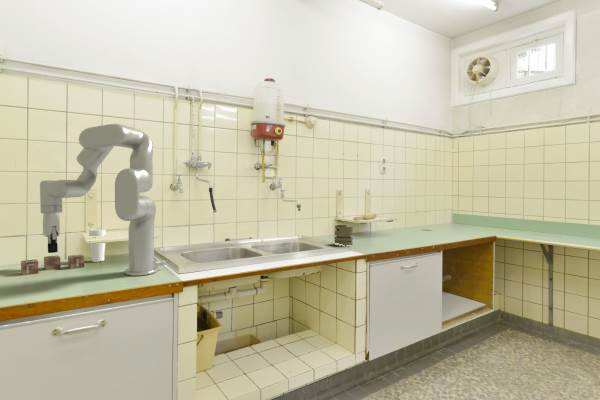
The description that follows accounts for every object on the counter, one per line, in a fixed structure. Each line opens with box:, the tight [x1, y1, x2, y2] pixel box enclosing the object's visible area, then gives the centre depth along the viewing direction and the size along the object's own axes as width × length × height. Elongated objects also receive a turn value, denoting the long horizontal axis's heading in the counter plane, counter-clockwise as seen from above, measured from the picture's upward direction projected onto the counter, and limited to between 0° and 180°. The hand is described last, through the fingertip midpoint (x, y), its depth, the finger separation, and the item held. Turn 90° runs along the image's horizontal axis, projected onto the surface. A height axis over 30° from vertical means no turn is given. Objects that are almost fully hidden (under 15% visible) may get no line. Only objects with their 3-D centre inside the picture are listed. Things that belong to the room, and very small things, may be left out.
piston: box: [333, 224, 354, 246], centre depth 216 cm, size 11×12×11 cm
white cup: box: [88, 228, 107, 263], centre depth 162 cm, size 7×7×15 cm
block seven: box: [20, 259, 39, 276], centre depth 139 cm, size 5×5×5 cm
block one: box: [67, 254, 85, 270], centre depth 150 cm, size 5×5×5 cm
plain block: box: [43, 255, 61, 271], centre depth 147 cm, size 5×5×5 cm
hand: (52, 252), depth 147 cm, fingers closed
